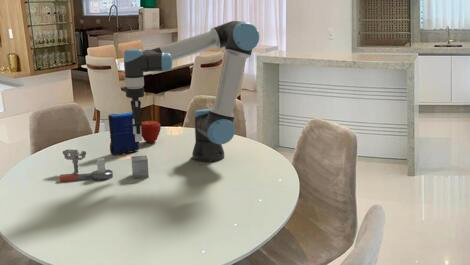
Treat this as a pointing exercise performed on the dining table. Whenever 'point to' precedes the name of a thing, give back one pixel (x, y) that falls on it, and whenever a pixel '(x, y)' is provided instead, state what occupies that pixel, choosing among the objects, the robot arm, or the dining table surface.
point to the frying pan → (90, 174)
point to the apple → (150, 131)
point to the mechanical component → (74, 157)
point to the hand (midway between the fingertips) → (137, 137)
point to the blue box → (122, 133)
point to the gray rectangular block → (140, 167)
